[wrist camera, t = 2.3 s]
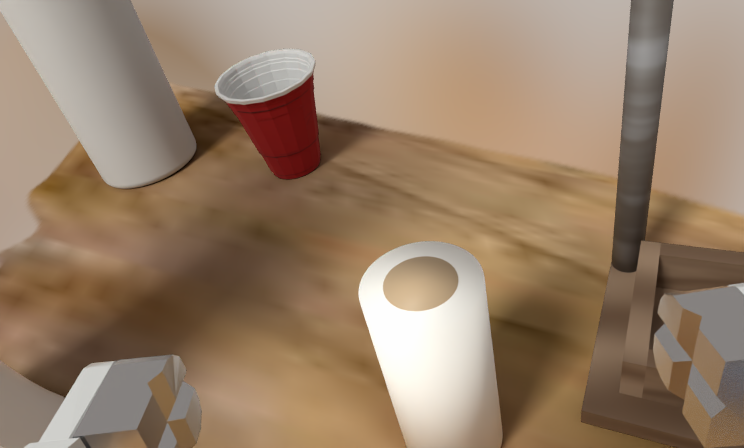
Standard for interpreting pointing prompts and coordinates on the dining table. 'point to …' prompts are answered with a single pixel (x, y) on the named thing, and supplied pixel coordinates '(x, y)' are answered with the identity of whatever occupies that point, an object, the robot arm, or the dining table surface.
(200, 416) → the robot arm
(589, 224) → the dining table surface
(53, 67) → the cylinder vase
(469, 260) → the paper roll
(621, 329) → the roll holder
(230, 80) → the plastic cup
